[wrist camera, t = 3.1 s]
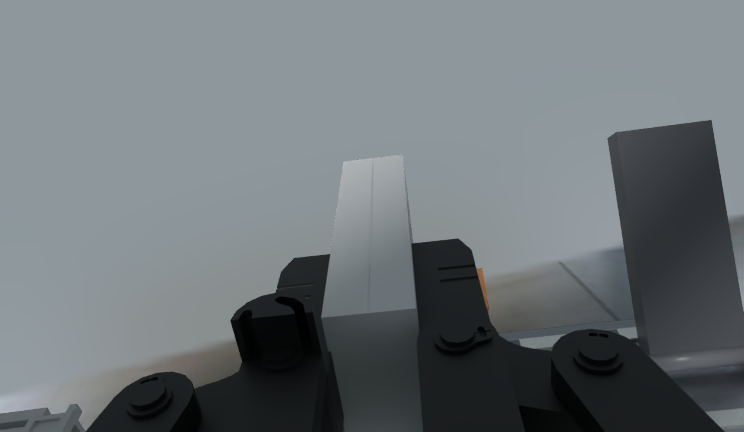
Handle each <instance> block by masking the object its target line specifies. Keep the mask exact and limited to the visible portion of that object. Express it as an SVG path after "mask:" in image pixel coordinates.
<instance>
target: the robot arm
mask: <svg viewBox="0 0 744 432" xmlns="http://www.w3.org/2000/svg"><path fill="white" fill-rule="evenodd" d="M231 324H232V328H233V331H234V335H235V338H236V342H237V345H238V349H239V352H240V356H241V359H242V364H241V367H240V370H239V372H237V373H235V374H234V375H232V376H229V377H227V378H225V379H222V380H220V381H217V382H213V383H210V384H207V385H204V386H201V387H198V388H195V389H194V387H193V384H192V382H191V381H190V380H189V379H188V378H187V377H186V376H185V375H183V374H179V373H175V372H162V373H155V374H152V375H149V376H146V377H143V378H140V379H139V380H137V381H135V382H133V383H132V384H130V385H128V386H126V387H125V388H124V389H123V390H122V391H121V392H120V393H119V394H118V395H116V396H115V397H114V398H113V400H112V401H111V402H110V403H109V404H108V406H107V407H106V408H105V409H104V410H103V412H102V413H101V414H100V415H99V416H98V418H97V419H96V420H95V421H94V422H93V423H92V425H91V426H90V427H89V428H88V429H87V431H86V432H343V426H344V430H345V432H725V431H724V430H723V429H722V428H721V427H720V426H719V425H718V424H717V423H716V422H715V421H714V420H713V419H712V418H711V417H710V416H709V415H708V414H707V413H706V412H705V411H704V410H703V409H702V408H701V407H700V406H699V405H698V404H697V403H696V402H695V401H694V400H693V399H692V398H691V397H690V396H689V395H688V394H687V393H686V392H685V391H684V390H682V389H681V388H680V387H679V386H678V385H677V384H676V383H675V382H674V381H673V380H672V379H671V378H670V377H669V376H668V375H667V374H666V373H665V372H664V371H663V370H662V369H661V368H660V367H659V366H658V365H657V364H656V363H655V362H654V361H653V360H652V359H651V358H650V357H649V356H648V355H647V354H646V353H645V352H644V351H643V350H642V349H641V348H640V347H639V346H638V345H637V344H635V343H634V342H632V341H631V340H630V339H628V338H627V337H625V336H622V335H620V334H617V333H614V332H611V331H607V330H598V329H585V330H577V331H573V332H571V333H568V334H566V335H564V336H561V337H560V339H559V340H558V341H557V342H556V343H555V344H554V345H553V348H552V351H548V350H540V349H533V348H528V347H523V346H519V345H517V344H514V343H512V342H509V341H507V340H506V339H504V338H503V337H501V336H500V335H499V334H498V333H497V331H496V329H495V328H494V326H492V324H491V322H490V319H489V315H488V311H487V308H486V304H485V300H484V296H483V292H482V288H481V285H480V281H479V278H478V273H477V269H476V267H475V262H474V258H473V254H472V251H471V249H470V248H469V247H467V246H466V245H465V244H464V243H463V242H462V241H460V240H459V239H450V240H441V241H431V242H422V243H413V238H412V231H411V222H410V213H409V205H408V196H407V187H406V179H405V170H404V162H403V155H397V156H389V157H380V158H371V159H363V160H354V161H346V162H344V164H343V170H342V178H341V184H340V191H339V198H338V205H337V212H336V218H335V225H334V233H333V240H332V246H331V253H330V254H327V255H318V256H309V257H301V258H294V259H293V260H292V261H291V262H290V263H289V264H288V265H287V266H286V267H285V268H284V269H283V271H282V272H281V274H280V278H279V282H278V285H277V290H276V293H273V294H268V295H264V296H261V297H258V298H256V299H254V300H252V301H250V302H248V303H246V304H245V305H244V306H242V307H241V308H240V309H238V310H237V311H236V313H235V314H234V316H233V317H232V319H231Z"/></svg>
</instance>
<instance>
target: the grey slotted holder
mask: <svg viewBox="0 0 744 432" xmlns="http://www.w3.org/2000/svg"><path fill="white" fill-rule="evenodd" d="M743 313H744V312H743ZM585 329H598V330H607V331H611V332H614V333H617V334H620V335H622V336H625V337H627V338H628V339H630V340H631V341H632V342H634V343H635V344H637V345H638V346H639V343H638V336H637V330H636V323H635V319H629V320H620V321H610V322H601V323H591V324H582V325H572V326H563V327H554V328H544V329H535V330H525V331H516V332H506V333H498V334H499V335H500V336H501V337H503V338H504V339H506V340H507V341H509V342H512V343H514V344H517V345H519V346H523V347H528V348H533V349H540V350H548V351H552V348H553V345H554V344H555V343H556V342H557V341H558V340H559V339H560V337H561V336H564V335H566V334H568V333H571V332H573V331H577V330H585ZM666 374H667V375H668V376H669V377H670V378H671V379H672V380H673V381H674V382H675V383H676V384H677V385H678V386H679V387H680V388H681V389H682V390H684V391H685V392H686V393H687V394H688V395H689V396H690V397H691V398H692V399H693V400H694V401H695V402H696V403H697V404H698V405H699V406H700V407H701V408H702V409H703V410H704V411H705V412H706V413H707V414H708V415H709V416H710V417H711V418H712V419H713V420H714V421H715V422H716V423H717V424H718V425H719V426H720V427H721V428H722V429H723V430H724V431H725V432H744V365H737V366H727V367H717V368H707V369H696V370H686V371H676V372H666ZM343 432H345V430H344V426H343Z"/></svg>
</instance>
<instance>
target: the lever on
mask: <svg viewBox="0 0 744 432" xmlns="http://www.w3.org/2000/svg"><path fill="white" fill-rule="evenodd" d="M608 144H609V150H610V157H611V164H612V171H613V177H614V184H615V191H616V197H617V204H618V210H619V216H620V223H621V229H622V237H623V244H624V250H625V257H626V263H627V270H628V277H629V283H630V290H631V296H632V303H633V310H634V316H635V323H636V330H637V336H638V343H639V347H640V348H641V349H642V350H643V351H644V352H645V353H646V354H647V355H648V356H649V357H650V358H651V359H652V360H653V361H654V362H655V363H656V364H657V365H658V366H659V367H660V368H661V369H662V370H663V371H664V372H665V373H666V372H676V371H686V370H696V369H707V368H717V367H727V366H737V365H744V313H743V307H742V301H741V295H740V289H739V283H738V277H737V271H736V265H735V259H734V253H733V247H732V241H731V235H730V229H729V223H728V217H727V211H726V206H725V199H724V193H723V187H722V181H721V175H720V169H719V163H718V157H717V152H716V145H715V139H714V133H713V127H712V121H711V120H709V121H700V122H693V123H685V124H677V125H669V126H662V127H654V128H647V129H639V130H631V131H623V132H616V133H615V134H613V135H612V136H610V137H609V138H608Z"/></svg>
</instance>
